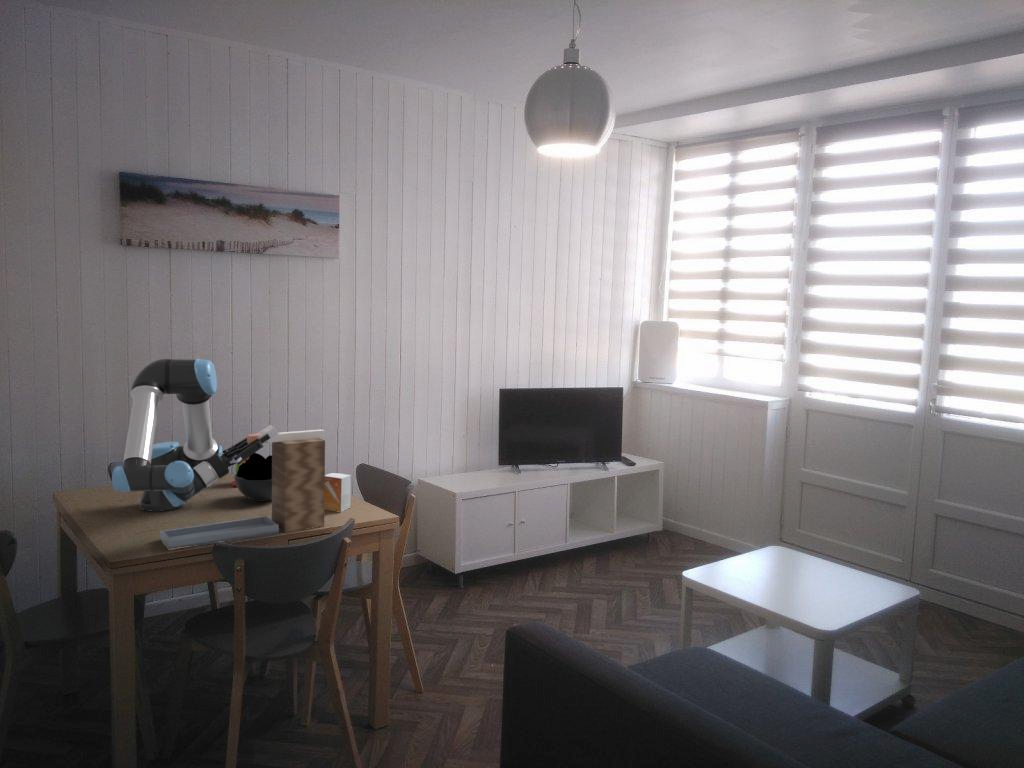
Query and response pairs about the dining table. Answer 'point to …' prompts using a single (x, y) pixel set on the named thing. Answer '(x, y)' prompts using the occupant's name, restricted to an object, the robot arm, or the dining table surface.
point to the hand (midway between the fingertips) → (274, 429)
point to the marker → (291, 436)
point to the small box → (337, 492)
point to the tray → (219, 532)
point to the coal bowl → (255, 477)
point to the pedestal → (298, 484)
